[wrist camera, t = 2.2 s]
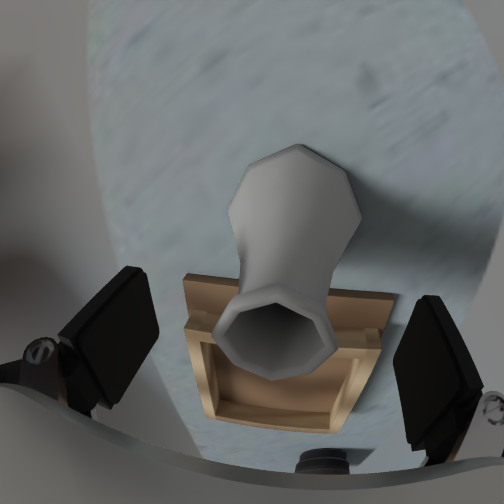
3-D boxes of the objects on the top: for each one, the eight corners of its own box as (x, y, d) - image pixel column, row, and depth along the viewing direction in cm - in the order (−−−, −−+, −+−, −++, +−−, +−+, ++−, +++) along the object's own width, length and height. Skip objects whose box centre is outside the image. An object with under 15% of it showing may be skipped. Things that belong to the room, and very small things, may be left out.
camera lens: (349, 443, 28) (342, 543, 15) (351, 460, 31) (345, 543, 18) (290, 447, 31) (273, 542, 18) (301, 464, 34) (287, 543, 21)
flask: (382, 218, 15) (448, 350, 6) (290, 285, 18) (267, 427, 9) (297, 119, 13) (281, 129, 4) (208, 205, 16) (109, 315, 8)
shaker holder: (187, 273, 19) (170, 297, 17) (391, 293, 17) (401, 321, 14) (211, 406, 28) (204, 426, 25) (336, 421, 25) (336, 442, 23)
